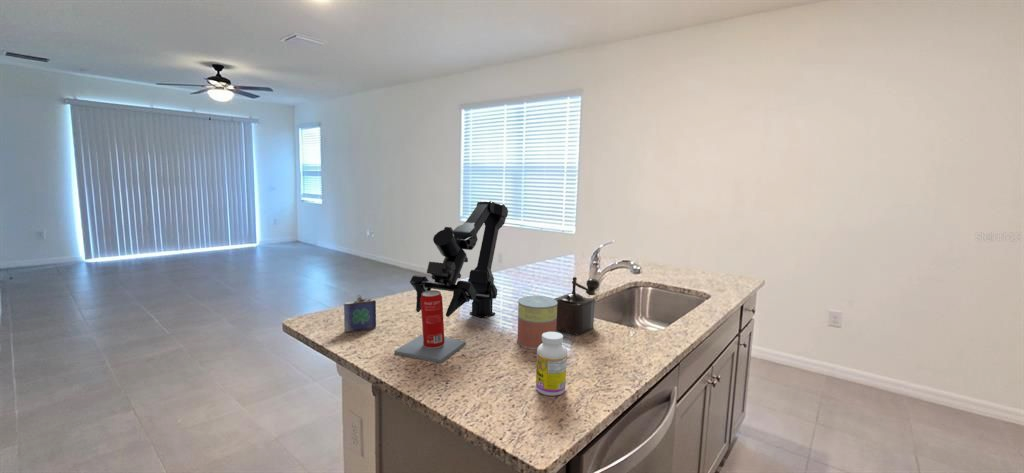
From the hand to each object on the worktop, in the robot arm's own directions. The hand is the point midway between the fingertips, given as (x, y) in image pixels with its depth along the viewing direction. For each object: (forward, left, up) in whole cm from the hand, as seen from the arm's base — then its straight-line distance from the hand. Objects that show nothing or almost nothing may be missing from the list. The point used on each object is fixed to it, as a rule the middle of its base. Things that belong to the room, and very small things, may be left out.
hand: (431, 313), depth 121 cm
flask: (+8, -26, -10) cm, 29 cm away
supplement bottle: (-7, +37, -10) cm, 39 cm away
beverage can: (0, 0, -9) cm, 9 cm away
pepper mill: (-43, +17, -10) cm, 47 cm away
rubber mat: (0, 0, -10) cm, 10 cm away
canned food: (-26, +15, -10) cm, 32 cm away
